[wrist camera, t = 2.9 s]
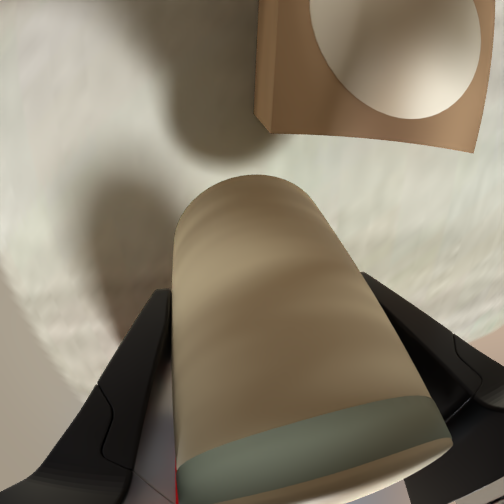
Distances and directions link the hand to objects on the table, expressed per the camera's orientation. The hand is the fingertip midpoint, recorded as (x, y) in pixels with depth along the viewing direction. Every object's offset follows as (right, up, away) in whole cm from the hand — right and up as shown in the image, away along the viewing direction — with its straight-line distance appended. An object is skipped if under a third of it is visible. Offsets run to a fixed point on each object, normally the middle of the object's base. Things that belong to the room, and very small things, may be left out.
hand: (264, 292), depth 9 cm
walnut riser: (+4, +10, +1) cm, 11 cm away
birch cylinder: (0, +1, +2) cm, 2 cm away
